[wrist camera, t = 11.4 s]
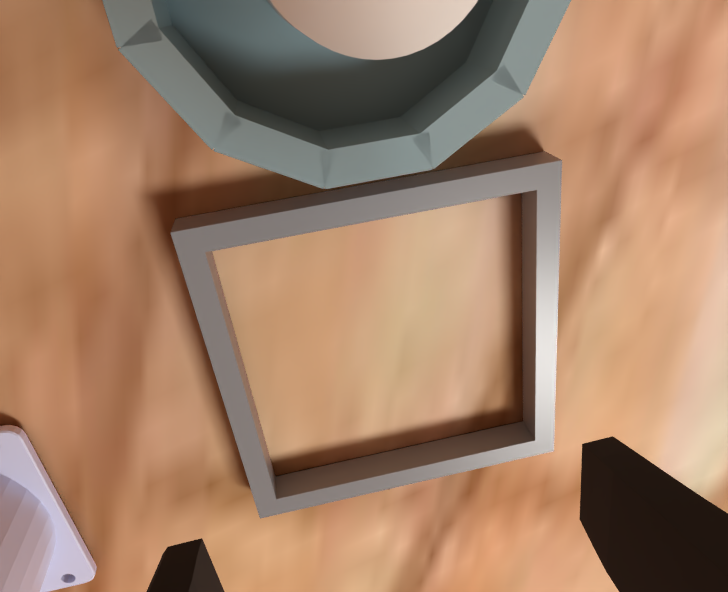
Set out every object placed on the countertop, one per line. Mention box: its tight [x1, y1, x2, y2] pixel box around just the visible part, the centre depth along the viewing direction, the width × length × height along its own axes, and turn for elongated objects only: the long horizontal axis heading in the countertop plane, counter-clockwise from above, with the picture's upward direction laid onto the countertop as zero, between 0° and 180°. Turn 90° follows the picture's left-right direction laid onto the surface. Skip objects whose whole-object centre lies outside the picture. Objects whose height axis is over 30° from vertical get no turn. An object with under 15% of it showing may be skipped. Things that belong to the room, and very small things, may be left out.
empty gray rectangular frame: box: [170, 151, 562, 518], centre depth 21 cm, size 12×12×1 cm
